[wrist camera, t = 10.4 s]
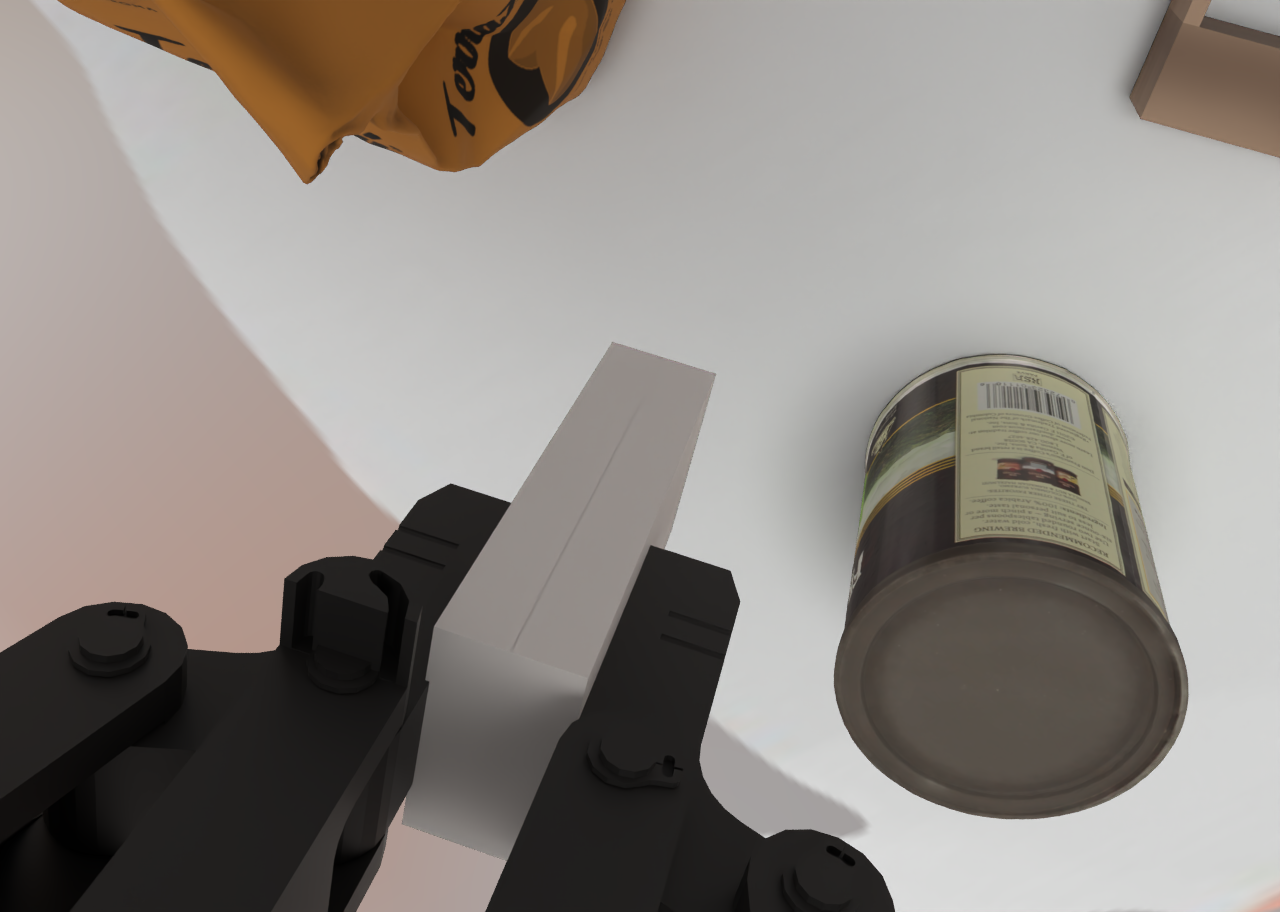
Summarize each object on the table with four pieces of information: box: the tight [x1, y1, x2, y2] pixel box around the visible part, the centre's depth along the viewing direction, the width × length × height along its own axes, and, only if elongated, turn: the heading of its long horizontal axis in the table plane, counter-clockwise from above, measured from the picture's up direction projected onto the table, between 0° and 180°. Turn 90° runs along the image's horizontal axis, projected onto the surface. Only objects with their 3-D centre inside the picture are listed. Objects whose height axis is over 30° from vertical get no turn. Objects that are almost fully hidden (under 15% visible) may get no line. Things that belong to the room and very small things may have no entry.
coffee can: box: [834, 355, 1188, 819], centre depth 42 cm, size 10×10×14 cm
